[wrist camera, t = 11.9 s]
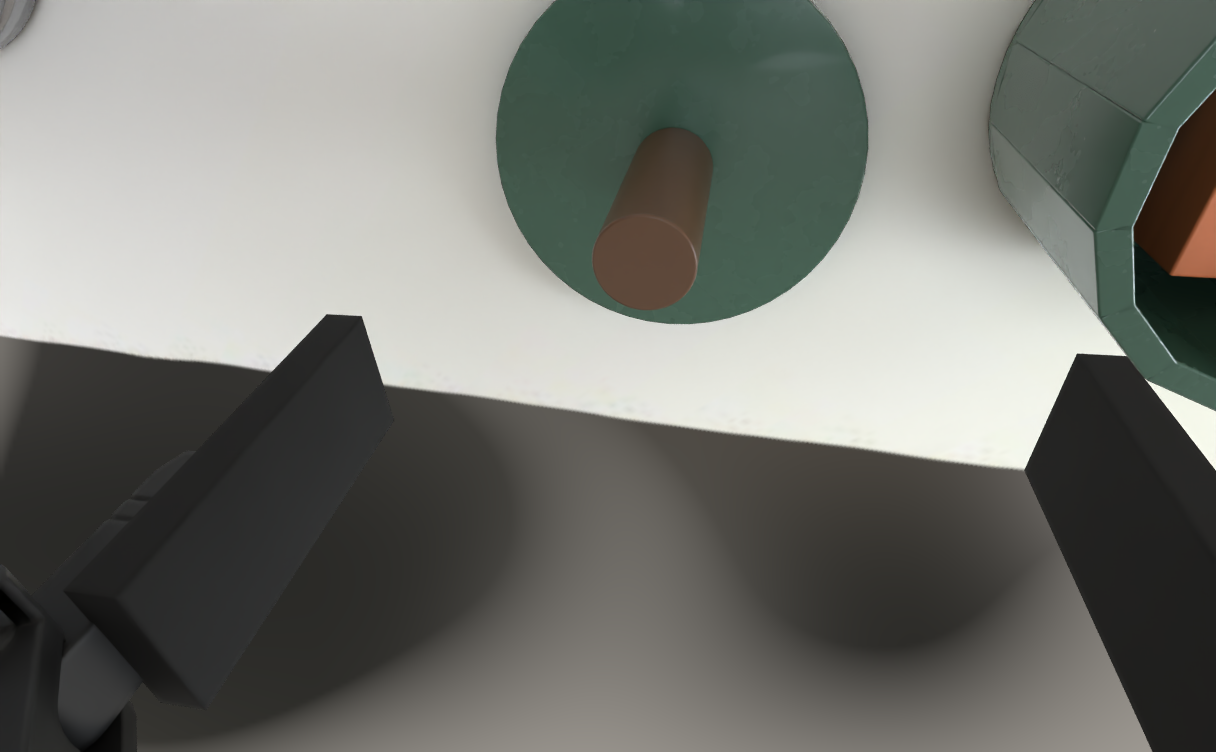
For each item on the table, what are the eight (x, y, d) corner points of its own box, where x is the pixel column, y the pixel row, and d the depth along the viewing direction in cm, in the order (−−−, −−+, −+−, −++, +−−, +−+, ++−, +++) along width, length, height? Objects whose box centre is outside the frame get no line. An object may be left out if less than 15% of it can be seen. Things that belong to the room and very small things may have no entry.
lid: (523, 300, 31) (452, 428, 24) (482, -49, 23) (354, -16, 16) (830, 321, 29) (853, 468, 22) (904, -58, 21) (982, -23, 14)
